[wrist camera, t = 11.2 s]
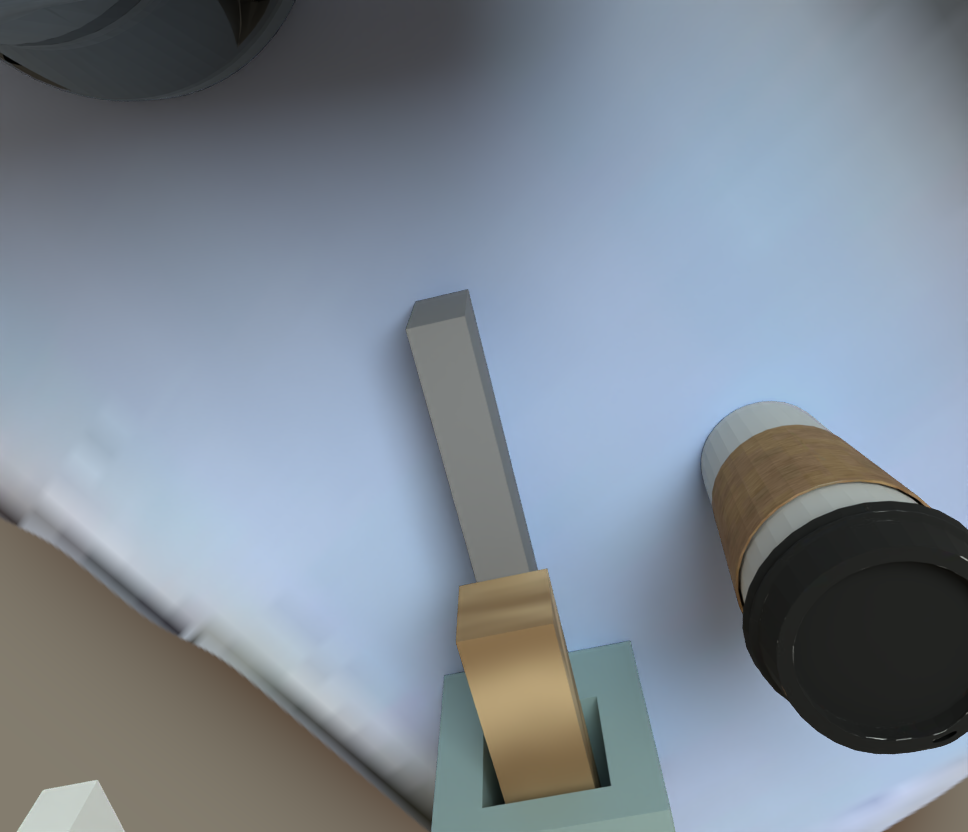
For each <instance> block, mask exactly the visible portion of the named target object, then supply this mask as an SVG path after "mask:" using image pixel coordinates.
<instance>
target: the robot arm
mask: <svg viewBox="0 0 968 832" xmlns="http://www.w3.org/2000/svg"><path fill="white" fill-rule="evenodd" d="M294 2H295V0H0V59H1V60H2V61H4V62H5V63H7V64H8V65H10V66H12V67H13V68H15V69H17V70H18V71H20V72H22V73H24V74H26V75H28V76H29V77H31V78H33V79H35V80H38V81H40V82H42V83H45V84H47V85H49V86H52V87H55V88H58V89H61V90H64V91H67V92H70V93H74V94H78V95H81V96H85V97H91V98H96V99H103V100H112V101H140V100H157V99H166V98H173V97H178V96H182V95H187V94H190V93H193V92H197V91H200V90H202V89H205V88H207V87H210V86H212V85H214V84H216V83H218V82H220V81H222V80H224V79H225V78H227V77H229V76H230V75H232V74H233V73H235V72H236V71H238V70H239V69H240V68H242V67H243V66H244V65H246V64H247V63H248V62H249V61H250V60H252V59H253V58H254V57H255V56H256V55H257V54H258V53H259V52H260V51H261V50H262V49H263V48H264V47H265V46H266V45H267V43H268V42H269V41H270V40H271V39H272V37H273V36H274V35H275V34H276V32H277V31H278V29H279V28H280V26H281V25H282V23H283V22H284V20H285V19H286V17H287V15H288V13H289V12H290V10H291V8H292V6H293V4H294ZM17 832H125V831H124V829H123V827H122V825H121V823H120V821H119V819H118V817H117V816H116V814H115V812H114V810H113V808H112V806H111V804H110V802H109V800H108V798H107V796H106V794H105V793H104V791H103V789H102V787H101V785H100V783H99V781H98V780H94V781H89V782H84V783H78V784H73V785H67V786H61V787H56V788H50V789H45V790H43V791H42V793H41V794H40V796H39V797H38V799H37V800H36V802H35V804H34V805H33V807H32V808H31V810H30V812H29V813H28V815H27V816H26V818H25V819H24V821H23V823H22V824H21V826H20V827H19V829H18V830H17Z"/></svg>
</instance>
